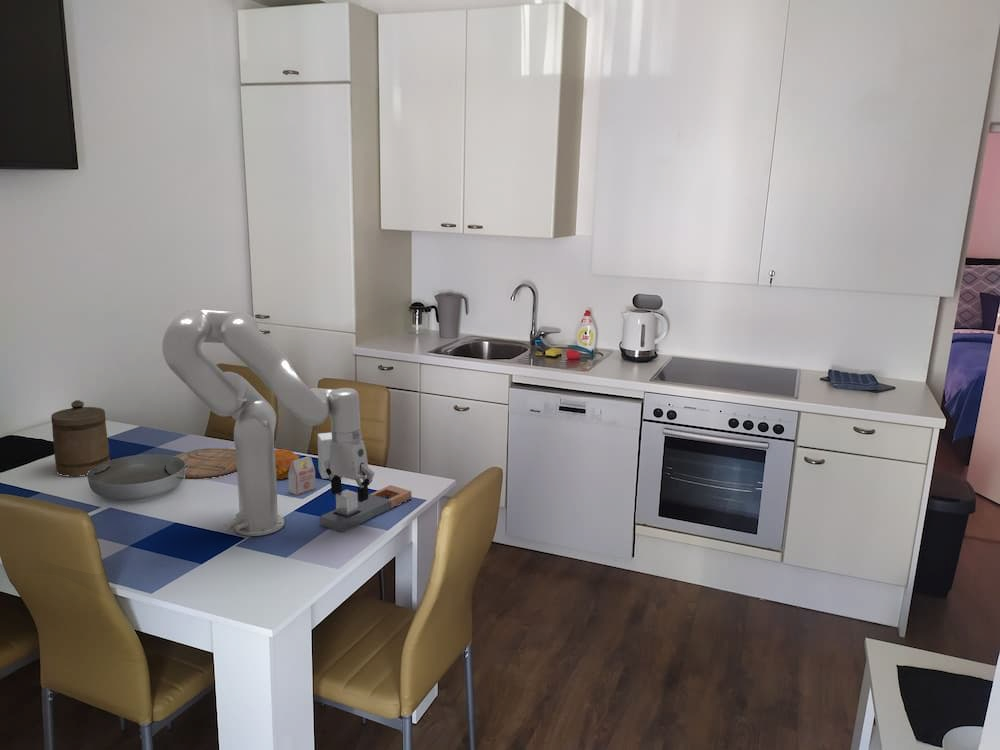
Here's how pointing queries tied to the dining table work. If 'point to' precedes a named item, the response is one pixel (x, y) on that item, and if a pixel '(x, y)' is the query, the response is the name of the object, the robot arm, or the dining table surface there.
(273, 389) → the robot arm
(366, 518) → the rail
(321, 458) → the supplement box
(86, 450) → the wooden container
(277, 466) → the croissant
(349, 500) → the steel peg
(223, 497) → the dining table surface
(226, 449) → the trivet
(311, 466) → the white printed paper bag
